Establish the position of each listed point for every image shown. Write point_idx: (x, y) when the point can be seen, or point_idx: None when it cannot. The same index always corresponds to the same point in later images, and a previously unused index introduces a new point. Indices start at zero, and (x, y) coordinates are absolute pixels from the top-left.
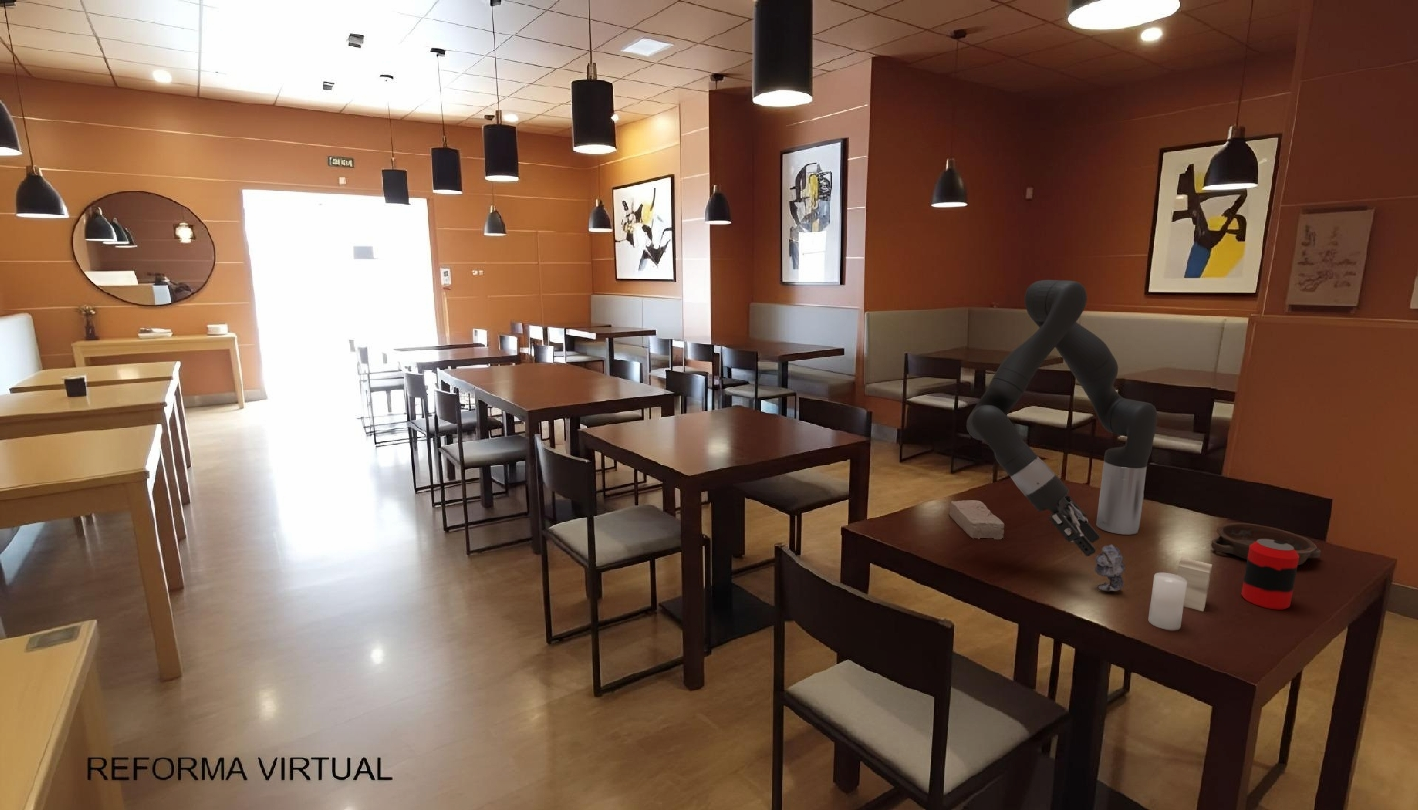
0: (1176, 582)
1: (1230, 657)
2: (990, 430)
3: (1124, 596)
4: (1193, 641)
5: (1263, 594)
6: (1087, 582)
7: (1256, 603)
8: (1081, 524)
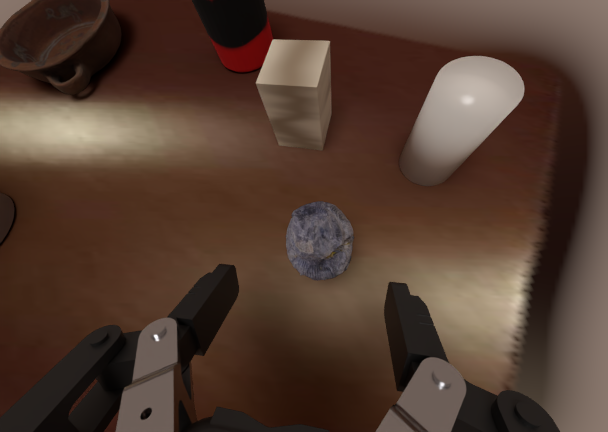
0: (501, 73)
1: None
2: None
3: None
4: None
5: (267, 35)
6: (299, 294)
7: None
8: (187, 350)
